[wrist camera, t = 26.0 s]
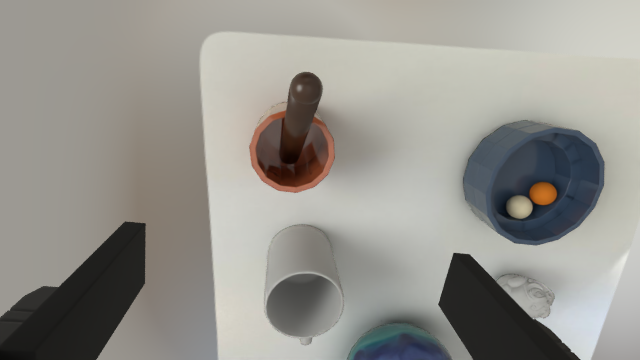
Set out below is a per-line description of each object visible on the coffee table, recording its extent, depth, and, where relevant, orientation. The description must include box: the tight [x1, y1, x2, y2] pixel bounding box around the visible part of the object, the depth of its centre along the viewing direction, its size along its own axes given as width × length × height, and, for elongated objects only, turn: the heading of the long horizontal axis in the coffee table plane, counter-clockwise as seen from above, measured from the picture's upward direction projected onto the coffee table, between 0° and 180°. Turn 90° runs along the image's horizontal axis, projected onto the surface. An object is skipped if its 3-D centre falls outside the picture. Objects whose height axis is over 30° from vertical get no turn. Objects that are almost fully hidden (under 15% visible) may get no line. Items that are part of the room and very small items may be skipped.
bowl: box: [463, 120, 604, 245], centre depth 44 cm, size 14×14×6 cm
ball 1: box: [506, 195, 533, 219], centre depth 46 cm, size 3×3×3 cm
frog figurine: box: [496, 274, 554, 319], centre depth 49 cm, size 6×7×7 cm
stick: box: [279, 72, 323, 165], centre depth 34 cm, size 2×2×18 cm
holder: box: [249, 102, 335, 193], centre depth 39 cm, size 8×8×8 cm
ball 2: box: [529, 182, 557, 205], centre depth 46 cm, size 3×3×3 cm
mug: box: [264, 225, 344, 345], centre depth 43 cm, size 12×8×11 cm
